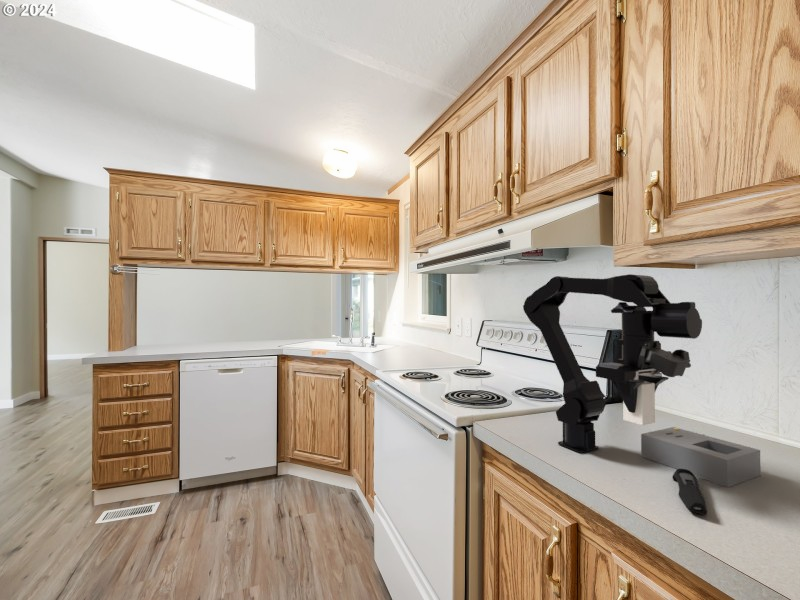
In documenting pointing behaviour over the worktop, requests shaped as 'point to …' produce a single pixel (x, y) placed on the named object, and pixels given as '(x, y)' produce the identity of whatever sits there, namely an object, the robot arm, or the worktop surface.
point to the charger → (642, 405)
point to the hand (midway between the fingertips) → (638, 411)
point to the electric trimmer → (690, 491)
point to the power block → (702, 455)
